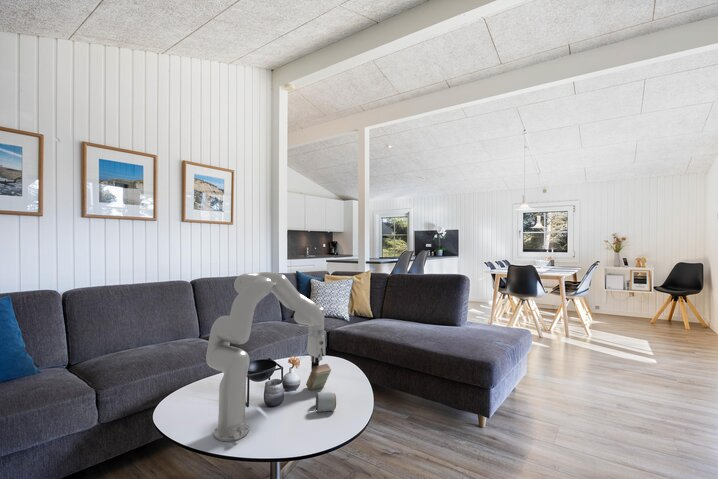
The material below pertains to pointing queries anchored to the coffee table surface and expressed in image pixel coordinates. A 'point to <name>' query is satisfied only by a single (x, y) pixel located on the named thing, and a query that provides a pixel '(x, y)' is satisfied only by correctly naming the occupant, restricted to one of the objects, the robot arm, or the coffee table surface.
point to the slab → (318, 376)
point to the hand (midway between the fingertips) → (315, 369)
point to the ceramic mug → (325, 401)
